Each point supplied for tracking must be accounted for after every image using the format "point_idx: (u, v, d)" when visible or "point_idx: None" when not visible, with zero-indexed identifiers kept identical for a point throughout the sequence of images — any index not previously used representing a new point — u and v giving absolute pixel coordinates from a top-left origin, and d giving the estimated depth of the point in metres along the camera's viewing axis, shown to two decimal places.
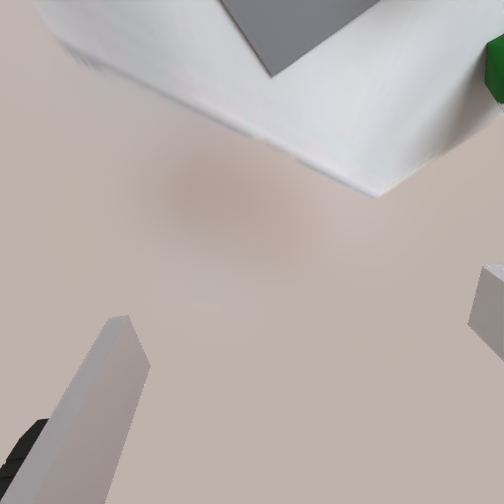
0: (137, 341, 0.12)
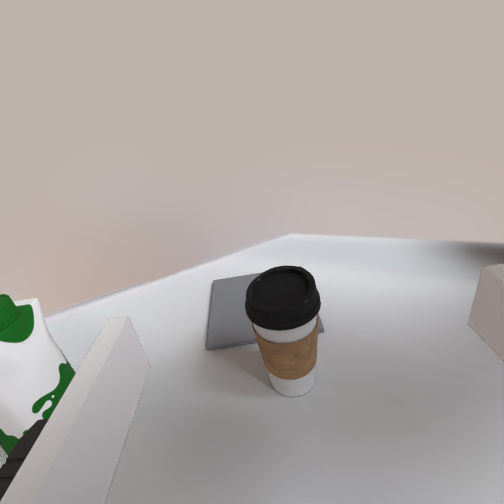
0: (137, 341, 0.12)
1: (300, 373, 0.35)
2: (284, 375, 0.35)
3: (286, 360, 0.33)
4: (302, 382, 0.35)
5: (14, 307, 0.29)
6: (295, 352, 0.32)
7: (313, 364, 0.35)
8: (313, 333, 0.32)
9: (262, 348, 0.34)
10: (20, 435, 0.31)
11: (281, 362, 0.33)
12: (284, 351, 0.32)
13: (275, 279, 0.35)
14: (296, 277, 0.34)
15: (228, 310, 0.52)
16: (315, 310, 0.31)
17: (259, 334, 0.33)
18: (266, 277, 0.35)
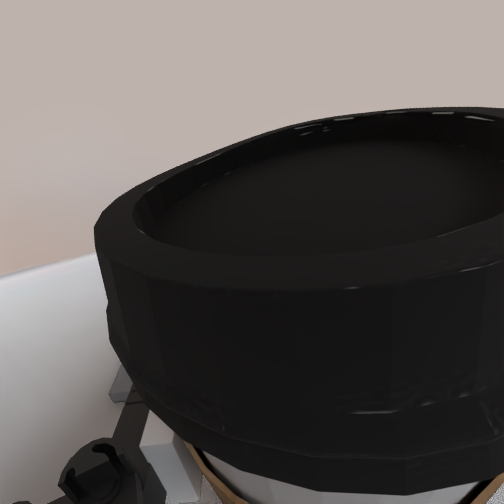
0: None
1: None
2: None
3: None
4: None
5: None
6: None
7: None
8: None
9: None
10: None
11: None
12: None
13: (285, 165, 0.08)
14: (385, 148, 0.07)
15: None
16: None
17: None
18: (248, 161, 0.08)
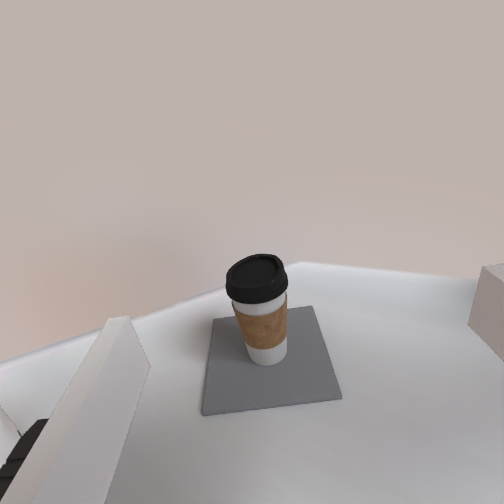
0: (137, 341, 0.12)
1: (271, 344, 0.41)
2: (257, 345, 0.41)
3: (258, 331, 0.40)
4: (273, 352, 0.42)
5: None
6: (265, 324, 0.39)
7: (282, 337, 0.42)
8: (281, 309, 0.39)
9: (239, 321, 0.41)
10: None
11: (254, 333, 0.40)
12: (256, 322, 0.39)
13: (252, 264, 0.41)
14: (270, 263, 0.41)
15: (230, 361, 0.45)
16: (281, 289, 0.38)
17: (236, 309, 0.40)
18: (246, 262, 0.42)
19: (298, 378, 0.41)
